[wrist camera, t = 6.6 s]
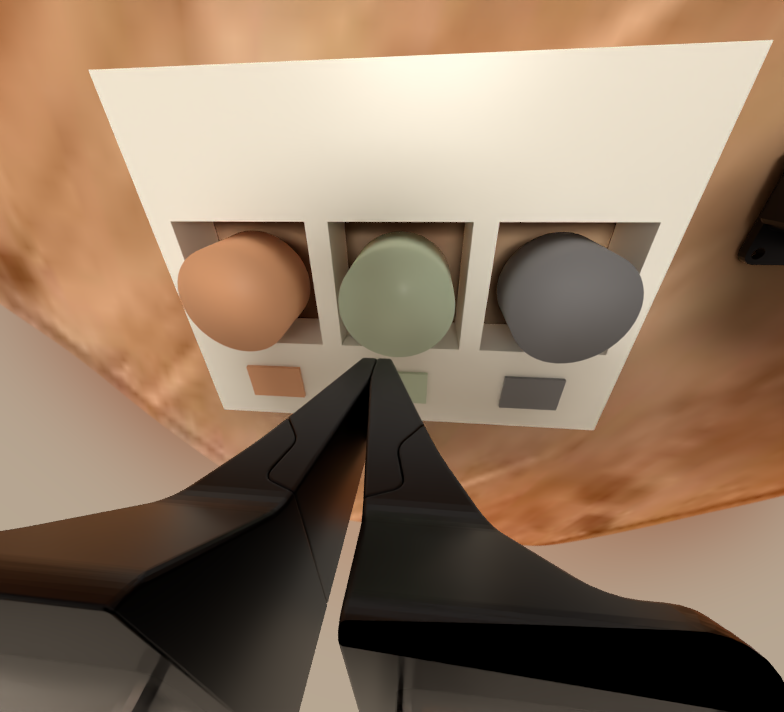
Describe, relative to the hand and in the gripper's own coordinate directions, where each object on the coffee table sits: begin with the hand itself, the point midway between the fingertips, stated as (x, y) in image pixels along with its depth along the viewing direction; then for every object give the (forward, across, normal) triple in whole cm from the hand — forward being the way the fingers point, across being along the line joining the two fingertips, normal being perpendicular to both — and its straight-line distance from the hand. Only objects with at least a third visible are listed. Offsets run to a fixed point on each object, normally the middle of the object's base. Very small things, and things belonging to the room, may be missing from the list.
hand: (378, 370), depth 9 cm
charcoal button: (+7, -7, 0) cm, 10 cm away
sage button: (+7, 0, 0) cm, 7 cm away
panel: (+9, 0, 0) cm, 9 cm away
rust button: (+7, +7, 0) cm, 10 cm away
